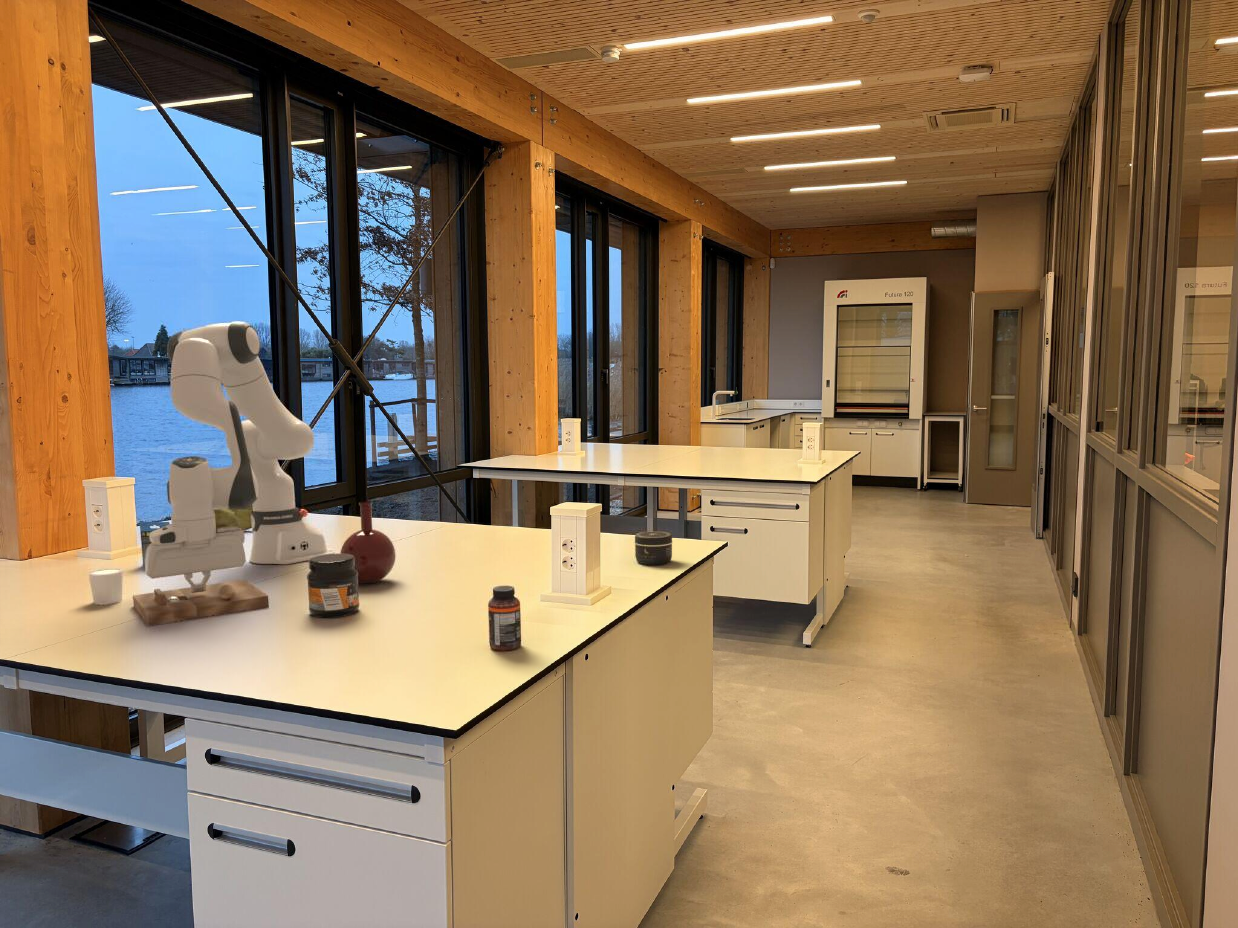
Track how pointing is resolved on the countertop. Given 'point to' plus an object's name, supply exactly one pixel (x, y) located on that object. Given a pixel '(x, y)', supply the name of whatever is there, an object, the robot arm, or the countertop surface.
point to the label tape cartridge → (145, 532)
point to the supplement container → (333, 585)
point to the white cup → (106, 586)
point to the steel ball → (172, 599)
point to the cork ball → (226, 592)
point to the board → (198, 602)
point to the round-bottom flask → (370, 549)
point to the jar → (653, 548)
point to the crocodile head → (233, 518)
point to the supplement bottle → (504, 619)
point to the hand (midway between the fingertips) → (198, 591)
